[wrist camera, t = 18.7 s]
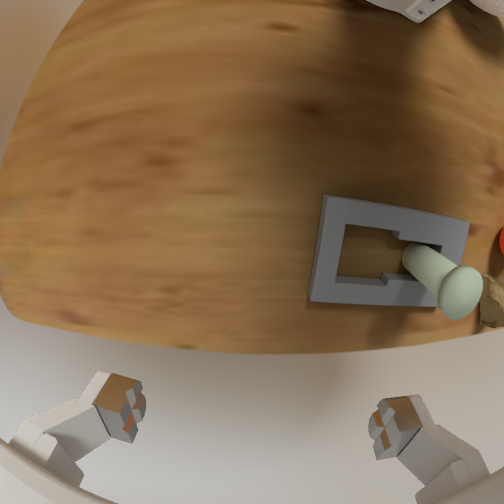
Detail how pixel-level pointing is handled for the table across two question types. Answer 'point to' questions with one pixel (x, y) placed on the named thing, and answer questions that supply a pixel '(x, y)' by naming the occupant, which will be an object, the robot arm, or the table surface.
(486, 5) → the white lumpy blob
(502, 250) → the clementine
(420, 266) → the sage post
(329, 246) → the keyhole board
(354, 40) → the table surface
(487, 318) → the rock
